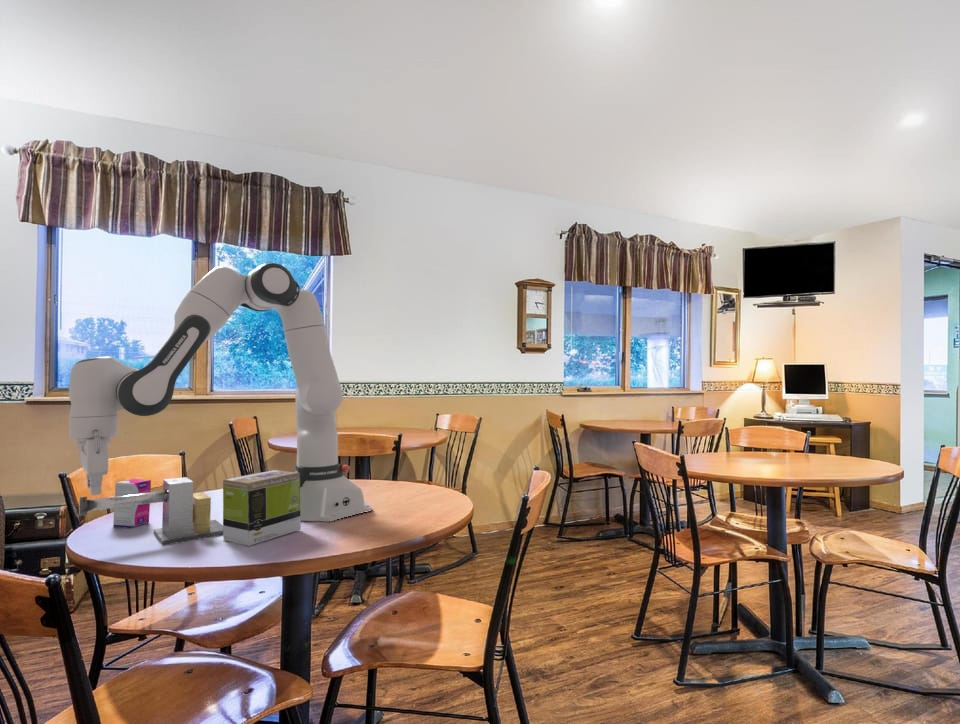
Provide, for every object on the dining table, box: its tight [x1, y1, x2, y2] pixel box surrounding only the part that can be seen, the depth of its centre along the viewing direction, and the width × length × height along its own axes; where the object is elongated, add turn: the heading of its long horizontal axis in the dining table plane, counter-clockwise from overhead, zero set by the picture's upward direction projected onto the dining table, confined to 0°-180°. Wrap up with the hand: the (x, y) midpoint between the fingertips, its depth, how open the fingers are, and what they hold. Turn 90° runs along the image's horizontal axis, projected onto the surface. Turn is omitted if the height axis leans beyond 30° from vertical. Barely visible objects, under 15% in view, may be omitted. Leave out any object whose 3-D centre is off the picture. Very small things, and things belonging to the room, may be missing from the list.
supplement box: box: [112, 478, 152, 529], centre depth 136 cm, size 6×6×12 cm
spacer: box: [192, 491, 212, 533], centre depth 130 cm, size 3×8×8 cm, turn 41°
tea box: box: [222, 469, 302, 547], centre depth 127 cm, size 15×10×15 cm
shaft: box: [78, 490, 168, 517], centre depth 120 cm, size 19×4×4 cm, turn 130°
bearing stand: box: [153, 476, 223, 546], centre depth 128 cm, size 14×12×13 cm
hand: (93, 491), depth 116 cm, fingers open, 8 cm apart
